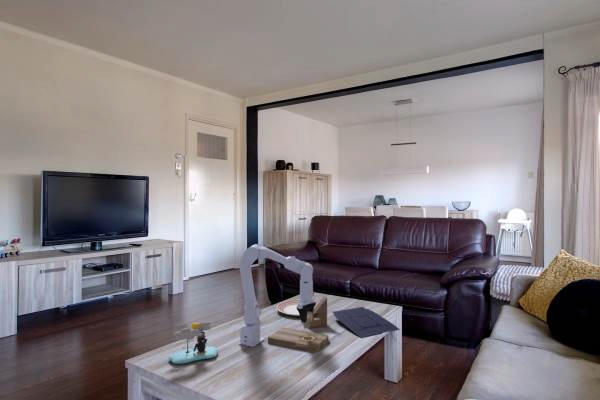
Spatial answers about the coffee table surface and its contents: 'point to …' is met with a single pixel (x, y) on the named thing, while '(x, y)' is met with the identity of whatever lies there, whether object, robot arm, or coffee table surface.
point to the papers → (364, 321)
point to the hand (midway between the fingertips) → (306, 320)
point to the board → (298, 339)
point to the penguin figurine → (189, 334)
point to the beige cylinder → (308, 320)
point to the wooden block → (320, 314)
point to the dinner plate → (290, 307)
